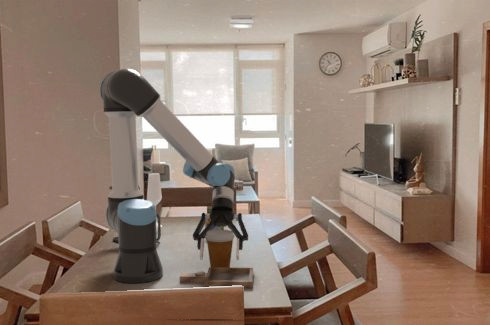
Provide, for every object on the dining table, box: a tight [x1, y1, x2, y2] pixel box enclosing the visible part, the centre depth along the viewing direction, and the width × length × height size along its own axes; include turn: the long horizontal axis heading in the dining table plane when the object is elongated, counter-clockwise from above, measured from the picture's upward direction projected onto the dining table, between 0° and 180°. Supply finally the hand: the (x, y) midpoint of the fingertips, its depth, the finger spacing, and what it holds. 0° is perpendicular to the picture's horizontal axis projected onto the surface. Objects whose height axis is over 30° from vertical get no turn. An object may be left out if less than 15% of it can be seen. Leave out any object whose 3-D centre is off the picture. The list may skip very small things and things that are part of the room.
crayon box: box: [204, 208, 225, 230], centre depth 217 cm, size 7×3×12 cm, turn 76°
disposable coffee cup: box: [205, 229, 235, 268], centre depth 173 cm, size 10×10×12 cm
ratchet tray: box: [179, 267, 254, 289], centre depth 160 cm, size 22×14×2 cm, turn 88°
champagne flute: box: [146, 172, 163, 229], centre depth 237 cm, size 7×7×24 cm
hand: (219, 257), depth 170 cm, fingers open, 11 cm apart
